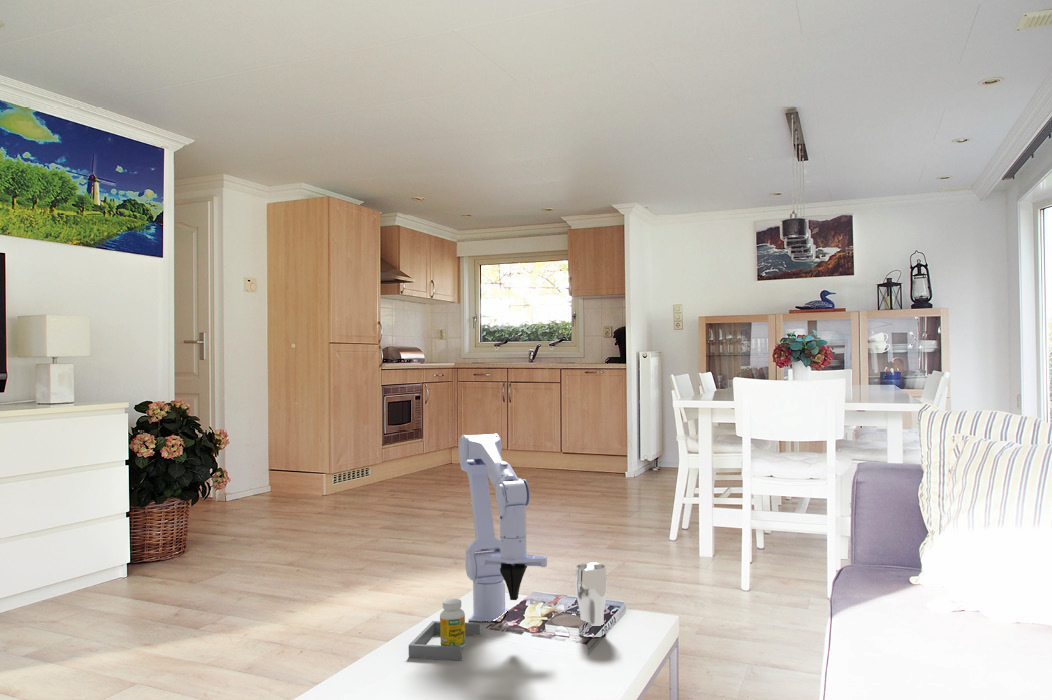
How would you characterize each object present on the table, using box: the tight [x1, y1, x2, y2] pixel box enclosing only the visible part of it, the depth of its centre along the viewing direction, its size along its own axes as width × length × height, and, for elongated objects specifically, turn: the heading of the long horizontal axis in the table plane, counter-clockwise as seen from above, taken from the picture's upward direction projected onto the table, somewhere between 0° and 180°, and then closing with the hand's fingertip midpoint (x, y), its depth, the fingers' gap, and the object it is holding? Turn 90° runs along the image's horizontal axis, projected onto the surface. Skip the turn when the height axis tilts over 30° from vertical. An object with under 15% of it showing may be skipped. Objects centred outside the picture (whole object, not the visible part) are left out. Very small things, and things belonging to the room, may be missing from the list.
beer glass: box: [575, 562, 608, 626], centre depth 167 cm, size 7×7×15 cm
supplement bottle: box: [439, 598, 466, 649], centre depth 160 cm, size 5×5×10 cm
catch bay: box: [408, 620, 481, 661], centre depth 161 cm, size 16×11×2 cm
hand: (514, 598), depth 162 cm, fingers closed
